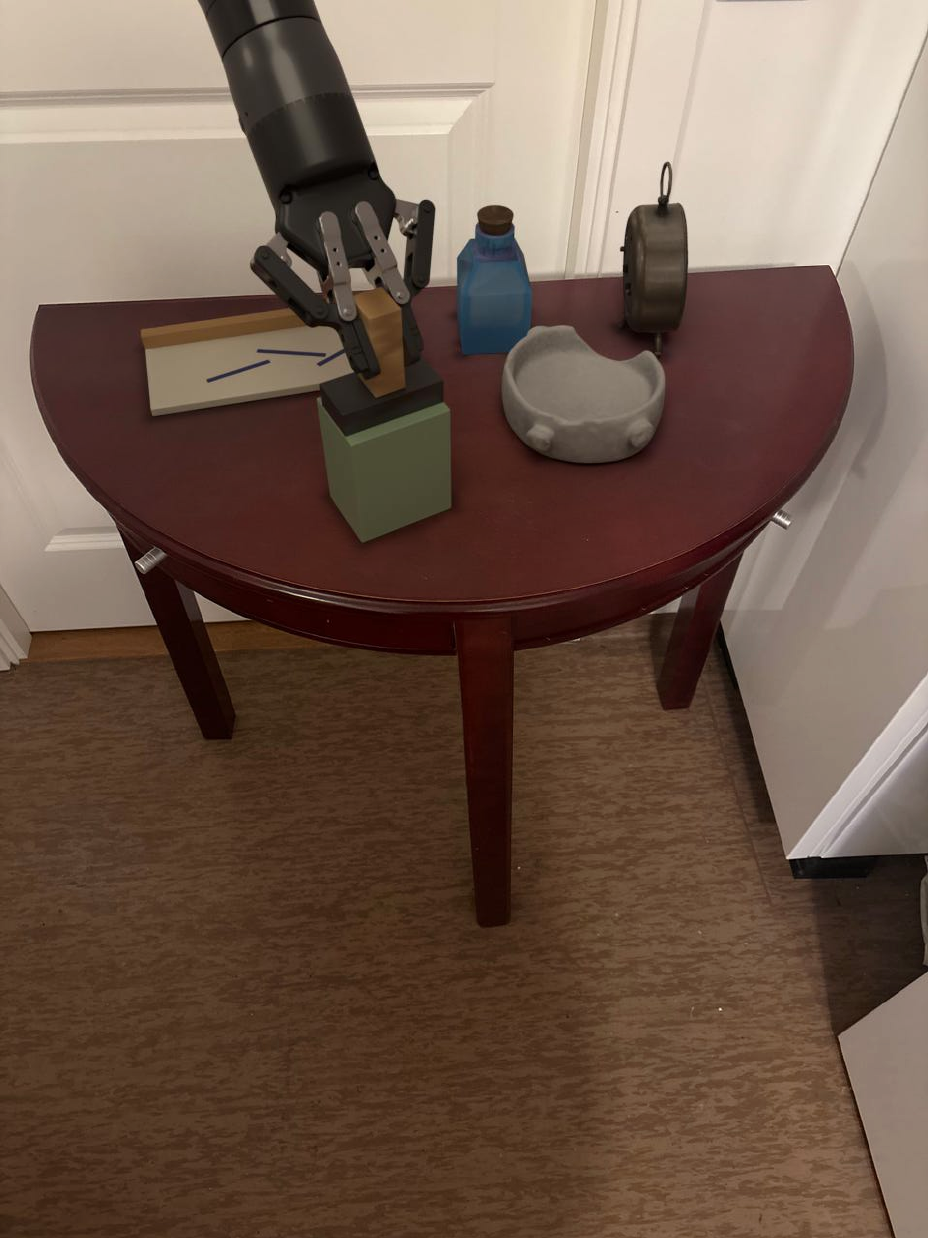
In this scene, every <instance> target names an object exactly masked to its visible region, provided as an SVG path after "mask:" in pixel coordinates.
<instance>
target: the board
mask: <svg viewBox="0 0 928 1238" xmlns="http://www.w3.org/2000/svg"><path fill="white" fill-rule="evenodd" d="M140 338H141V341H142V344H143V348H144V352H145V364H146V365H145V366H146V375H147V386H148V395H149V396H148V397H149V408H150V413H151V415H152V417H157V416H158V417H159V416H164V415H170V414H171V415H172V414H177V413H178V414H179V413H183V412H191V411H196V410H202V409H203V410H204V409H209V408H214V407H222V406H228V405H234V404H242V403H247V402H254V401H259V400H266V399H273V398H279V397H286V396H292V395H298V394H304V393H305V394H306V393H311V392H317V391H320V387H319V384H320V383H323V382H326V381H329V380H332V379H335V378H338V377H341V376H344V375H347V374H350V373H353V372H354V371H353V370H352V369H351V367H350V364H349V361H348V359H347V356H346V353H345V351H344V348H343V345H342V343H341V340H340V337H339V335H338V333H337V332H336V330H334V329H333V328H331V327H323V326H317V327H315V328H311V327H309V326H307V325H306V324H305V323H304V322H303V321H302V320H301V319H300V318H299V317H298V316H297V315H296V314H295V313H294V312H293V311H292V310H291V309H290V308H289V307H288V308H282V309H275V310H266V311H261V312H253V313H248V314H240V315H233V316H226V317H219V318H212V319H204V320H198V321H191V322H185V323H184V322H183V323H177V324H171V325H169V324H168V325H162V326H156V327H148V328H142V329H140Z"/></svg>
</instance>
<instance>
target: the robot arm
mask: <svg viewBox="0 0 928 1238" xmlns="http://www.w3.org/2000/svg"><path fill="white" fill-rule="evenodd" d="M197 3H198V4H199V6H200V8H201V11H202V14H203V16H204V18H205V21H206V25H207V27H208V29H209V33H210V34H211V38H212V41H213V43H214V45H215V48H216V50H217V53H218V55H219V58H220V61H221V63H222V65H223V69H224V72H225V75H226V79H227V82H228V88H229V92H230V96H231V100H232V103H233V106H234V108H235V112H236V115H237V121H238V123H239V127H240V129H241V131H242V133H243V134H244V136H245V137H246V140H247V143H248V146H249V149H250V151H251V153H252V157H253V159H254V161H255V164H256V166H257V169H258V173H259V174H260V177H261V179H262V182H263V185H264V188H265V191H266V193H267V196H268V198H269V201H270V203H271V206H272V208H273V210H274V214H275V221H274V234H275V235H274V236H272V238H271V239H270V240H269V241H268V242H267V243H266V244H263V245H260V246H258V247H257V248H256V250H255V252H254V253H253V256H252V258H251V260H250V262H249V267H250V270H251V272H253V274H254V275H255V276H256V277H257V278H258V279H259V280H260V281H261V282H262V283H263V284H264V285H265V286H266V287H267V288H268V289H269V290H270V291H272V292H273V293H274V295H275V296H276V297H278V299H280V301H282V302H283V303H284V305H286V306H287V307H288V308H290V309H291V310H292V311H293V312H294V313H295V314H296V315H297V316H298V317H299V318H300V319H301V320H302V321H303V322H304V323H305V324H306V325H307V326H309V327H311V328H315V327H317V326H323V327H331V328H333V329H334V330H336V332H337V333H338V335H339V337H340V340H341V343H342V345H343V348H344V351H345V353H346V356H347V359H348V361H349V364H350V367H351V369H352V370H353V371H354V372H355V373H356V374H359V373H362V376H363V378H364V379H365V380H369V379H372V378H375V377H377V376H378V375H379V374H381V369H380V365H379V363H378V360H377V357H376V355H375V352H374V349H373V346H372V344H371V342H370V340H369V337H368V334H367V332H366V329H365V326H364V323H363V321H362V319H361V320H358V319H357V316H356V315H357V309H356V305H355V301H354V297H353V295H354V294H353V290H352V280H351V279H352V277H351V272H350V270H351V269H361V270H362V272H363V274H364V276H365V278H366V281H367V282H368V283H369V284H370V285H372V287H373V289H376V288H379V287H382V288H383V289H384V290H385V291H386V292H387V294H388V295H389V296H390V297H391V298H392V299H393V300H394V301H395V302H396V304H397V305H398V306H399V307H400V308H401V313H402V332H403V333H402V334H403V352H404V367H407V366H410V365H413V364H415V363H417V362H418V361H420V353H422V352H423V351H424V340H423V337H422V334H421V331H420V329H419V325H418V323H417V320H416V316H415V315H414V312H413V309H412V301H413V298H414V297H416V296H417V295H418V294H420V293H421V291H422V290H424V289H425V288H427V286H428V285H429V284H430V281H431V272H432V271H431V270H432V258H433V247H434V246H433V244H434V234H435V223H436V222H435V221H436V205H435V204H434V202H433V201H431V200H430V199H422V200H421V201H420V202H419V203H416V202H412V201H407V200H404V199H399V198H397V197H396V195H395V193H394V191H393V190H392V189H391V188H390V187H389V185H388V184H387V183H386V182H385V181H384V180H383V178H382V176H381V173H380V170H379V166H378V162H377V159H376V157H375V154H374V150H373V148H372V146H371V143H370V140H369V137H368V134H367V131H366V128H365V126H364V122H363V120H362V117H361V115H360V112H359V110H358V106H357V104H356V100H355V98H354V96H353V93H352V90H351V87H350V85H349V82H348V78H347V77H346V74H345V71H344V68H343V65H342V63H341V61H340V58H339V55H338V53H337V51H336V49H335V48H334V45H333V44H332V42H331V40H330V38H329V36H328V34H327V32H326V31H327V30H326V29H325V26H324V25H323V21H322V19H321V16H320V13H319V10H318V8H317V5H316V3H315V0H197ZM394 219H395V220H396V221H397V223H398V229H399V232H400V234H402V236H403V237H405V238H406V241H405V253H404V265H403V275H401V272H400V270H399V268H398V260H397V258H396V256H395V253H394V252H393V250H392V248H391V245H390V244H389V238H390V233H391V229H392V226H393V222H394ZM287 250H289V251H290V252H292V253H293V254H294V255H296V256H297V257H298V258H299V259H301V260H302V261H303V262H305V263H306V264H308V265H309V266H310V267H311V268H313V269H314V270H315V271H316V275H317V279H318V283H319V287H320V290H321V294H322V296H323V297H324V299H325V301H324V300H323V299H322V298H321V297H320V296H319V295H318V294H317V293H316V292H315V291H314V290H313V289H312V287H310V286H309V285H308V284H307V282H305V281H304V280H303V279H302V278H301V277H300V276H299V275H298V274H297V273H296V272H295V270H293V269H292V265H293V260H292V257H291V256H290V254H288V253H289V252H288V251H287Z"/></svg>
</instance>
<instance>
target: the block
mask: <svg viewBox="0 0 928 1238" xmlns="http://www.w3.org/2000/svg"><path fill="white" fill-rule="evenodd" d="M316 405H317V413H318V421H319V426H320V427H319V428H320V433H321V440H322V448H323V456H324V461H325V462H324V463H325V469H326V476H327V483H328V490H329V497H330V499H331V500H332V501H333V503H334V504H335V506H336V507H337V509H338V510H339V512H340V513H341V515H342V516H343V517H344V519H345V520H346V522H347V524H348V525H349V526H350V528H351V529H352V531H353V532H354V534H355V535H356V537H357V538H358V540H359V541H360V543H362V544H364V543H366V542H369V541H371V540H374V539H377V538H379V537H382V536H384V535H386V534H389V533H392V532H394V531H396V530H399V529H402V528H404V527H407V526H410V525H412V524H414V523H417V522H420V521H422V520H425V519H427V518H429V517H432V516H434V515H438V514H439V513H443V512H445V511H447V510H450V509H452V450H451V449H452V437H451V434H452V433H451V429H452V428H451V409H450V408H449V407H448V405H447V404H446V403H445V401H444V402H442V403H439V404H436V405H434V406H431V407H428V408H425V409H422V410H420V411H417V412H414V413H411V414H408V415H406V416H403V417H400V418H397V419H394V420H392V421H389V422H386V423H383V424H380V425H378V426H375V427H372V428H369V429H366V430H364V431H361V432H358V433H355V434H352V435H350V436H347V437H345V436H344V435H343V433H342V432H341V431H340V429H339V428H338V426H337V425H336V424H335V422H334V421H333V420H332V418H331V417H330V416H329V414H328V413H327V412H326V410H325V409H324V407H323V406H322V401H321V396H318V397H317V398H316Z"/></svg>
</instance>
